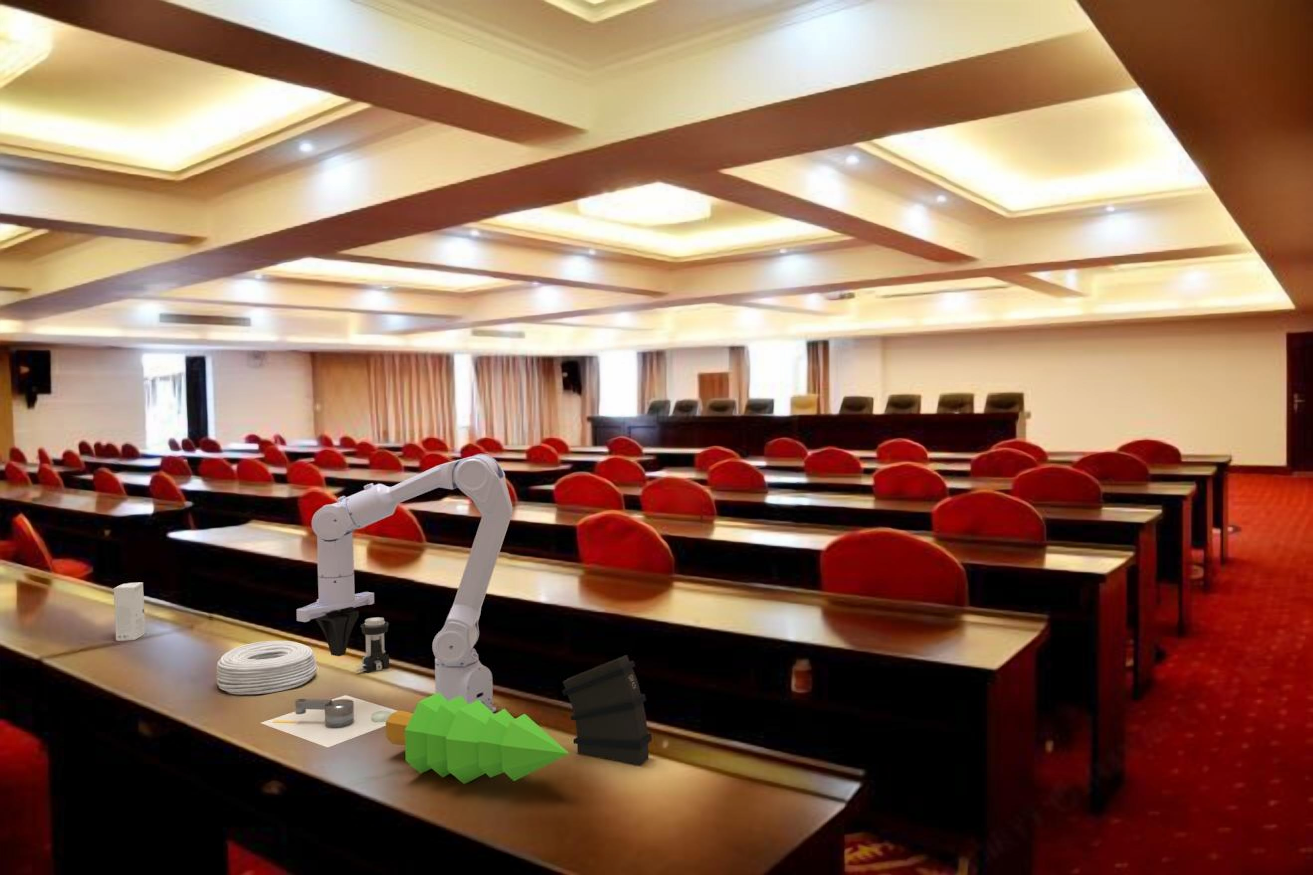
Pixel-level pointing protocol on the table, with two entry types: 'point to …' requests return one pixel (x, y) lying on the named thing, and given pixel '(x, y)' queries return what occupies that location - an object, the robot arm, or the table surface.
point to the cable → (265, 667)
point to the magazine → (609, 712)
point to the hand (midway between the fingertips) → (338, 654)
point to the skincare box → (129, 611)
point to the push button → (374, 645)
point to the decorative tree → (470, 740)
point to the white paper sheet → (317, 732)
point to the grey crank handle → (329, 710)
